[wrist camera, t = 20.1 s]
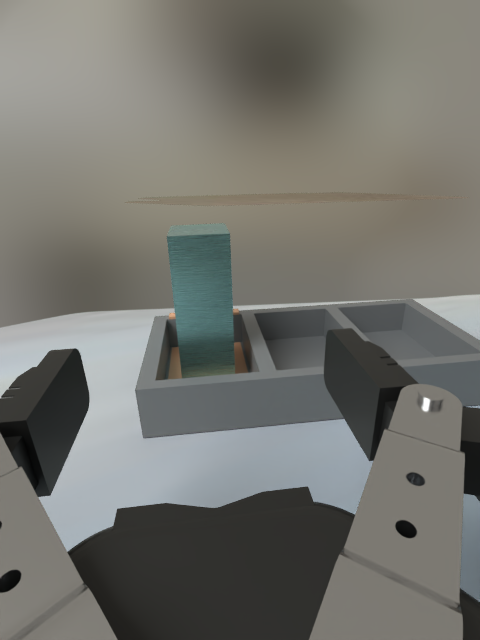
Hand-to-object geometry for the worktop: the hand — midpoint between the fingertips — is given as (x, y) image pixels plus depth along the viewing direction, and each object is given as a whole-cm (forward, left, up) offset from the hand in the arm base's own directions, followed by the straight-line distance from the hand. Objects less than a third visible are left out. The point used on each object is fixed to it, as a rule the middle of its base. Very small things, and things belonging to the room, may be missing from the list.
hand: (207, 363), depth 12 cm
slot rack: (-7, -12, -9) cm, 16 cm away
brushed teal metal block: (0, -12, -8) cm, 14 cm away
